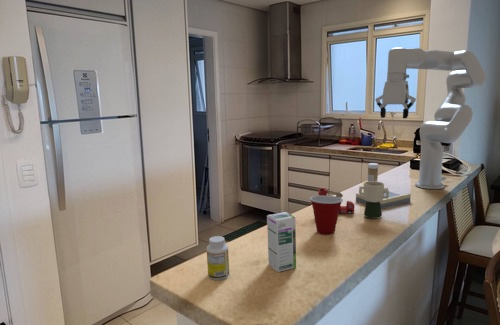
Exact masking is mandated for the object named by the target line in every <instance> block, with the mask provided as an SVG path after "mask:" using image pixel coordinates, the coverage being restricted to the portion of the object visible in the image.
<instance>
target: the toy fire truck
mask: <svg viewBox="0 0 500 325" xmlns="http://www.w3.org/2000/svg"><path fill="white" fill-rule="evenodd" d="M327 194H330V195H331V194H332V195H334V196H335V197H340V198H342V199H343V197H344V196H343V195H344V194H343V193H341V192H340V191H339V192H338V191H336V190H335V191H334V190H332V189H331V190H330V189H327V188H326V187H325V188H320V189H318V196H328V195H327ZM340 214H348V215H351V214H355V203H354V201H353V202H352V201H351V200H346V204H345V205H343V206H342V205H340V209H339V213H338V215H340Z"/></svg>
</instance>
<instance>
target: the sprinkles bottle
mask: <svg viewBox="0 0 500 325" xmlns="http://www.w3.org/2000/svg"><path fill="white" fill-rule="evenodd" d="M378 171H379V163H376V162H370V163H368V164H367V182H368V181H377V182H378V178H379V177H378V173H379V172H378Z"/></svg>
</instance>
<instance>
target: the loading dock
mask: <svg viewBox="0 0 500 325" xmlns="http://www.w3.org/2000/svg"><path fill="white" fill-rule="evenodd" d="M384 189H385V190H389V188H388V187H384ZM362 193H364V191H363V192H362ZM411 194H412V193H404V194H400V193H396V192H392V191H389V198H388V199H386V198H383V201H381V202H380V204H381V210H383V209H387V208H391V207H395V206H399V205H403V204H407V203H411V196H412V195H411ZM384 196H386V192H384ZM355 202H356V203H360V204H362V205H365V206H366V202H367V201H366V200H364V197H363V195H360V194H359V192H358V193H355Z"/></svg>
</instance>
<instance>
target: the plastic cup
mask: <svg viewBox="0 0 500 325" xmlns="http://www.w3.org/2000/svg"><path fill="white" fill-rule="evenodd" d="M335 196H336V195H326V196H319V195H314V196H313V195H312V196H310V197H309V201H310V202H311V205H312V206H311V207H312V209H313V210H312V211H313V216H314V223H315V228H316V231H317V234H320V235H323V236H331V235H334V233H335V231H336V227H337V223H338V217H339V214H340V213H339V209H340V206H342V205H341V204H342V202H343V201H344V200H343V197H342V198H340V197H335ZM338 213H339V214H338Z"/></svg>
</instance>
